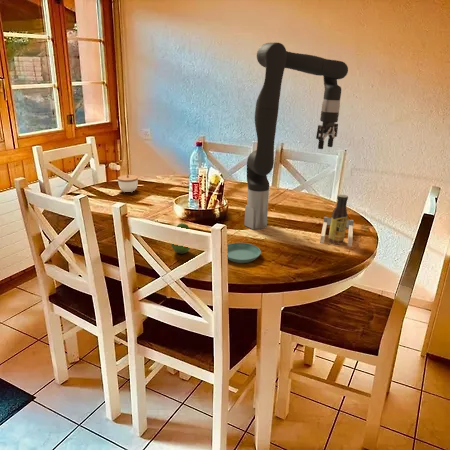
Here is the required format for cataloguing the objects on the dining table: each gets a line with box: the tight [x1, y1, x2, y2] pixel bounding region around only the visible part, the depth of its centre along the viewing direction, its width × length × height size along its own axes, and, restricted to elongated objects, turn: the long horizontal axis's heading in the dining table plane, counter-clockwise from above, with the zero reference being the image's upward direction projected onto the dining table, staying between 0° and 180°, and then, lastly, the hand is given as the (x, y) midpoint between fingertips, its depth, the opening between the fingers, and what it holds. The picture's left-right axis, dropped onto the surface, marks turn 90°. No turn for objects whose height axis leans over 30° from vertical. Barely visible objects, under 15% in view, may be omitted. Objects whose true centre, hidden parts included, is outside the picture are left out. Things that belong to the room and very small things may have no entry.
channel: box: [319, 216, 355, 248], centre depth 177 cm, size 18×12×5 cm
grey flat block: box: [327, 217, 350, 229], centre depth 192 cm, size 10×10×1 cm
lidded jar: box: [117, 174, 139, 193], centre depth 229 cm, size 11×11×9 cm
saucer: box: [227, 242, 262, 264], centre depth 157 cm, size 15×15×3 cm
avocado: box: [171, 222, 191, 255], centre depth 157 cm, size 8×8×12 cm
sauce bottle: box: [328, 194, 349, 245], centre depth 169 cm, size 6×6×20 cm
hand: (325, 147), depth 187 cm, fingers open, 8 cm apart
